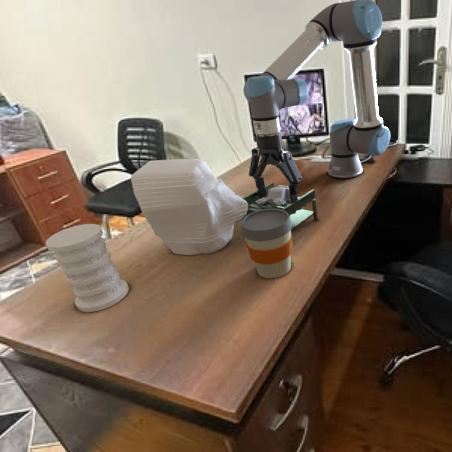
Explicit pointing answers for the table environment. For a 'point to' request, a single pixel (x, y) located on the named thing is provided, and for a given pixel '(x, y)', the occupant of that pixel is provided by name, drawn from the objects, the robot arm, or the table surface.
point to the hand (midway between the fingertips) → (278, 200)
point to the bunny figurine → (277, 195)
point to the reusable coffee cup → (269, 241)
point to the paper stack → (187, 205)
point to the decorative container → (88, 267)
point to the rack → (287, 206)
